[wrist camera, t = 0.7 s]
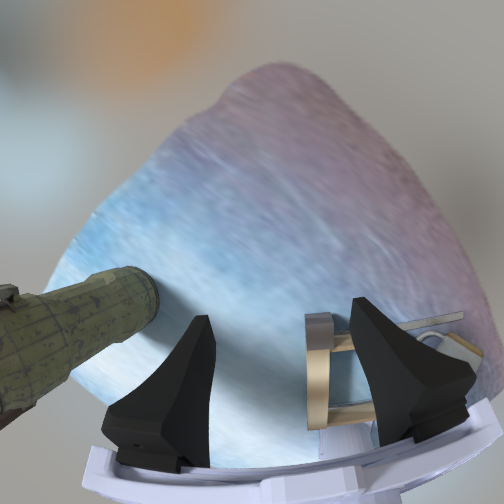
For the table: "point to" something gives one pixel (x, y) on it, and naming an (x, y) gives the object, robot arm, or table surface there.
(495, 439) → the robot arm
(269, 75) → the table surface
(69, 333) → the thermos
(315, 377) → the tan wooden bracket
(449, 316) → the track
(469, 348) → the ceramic mug
